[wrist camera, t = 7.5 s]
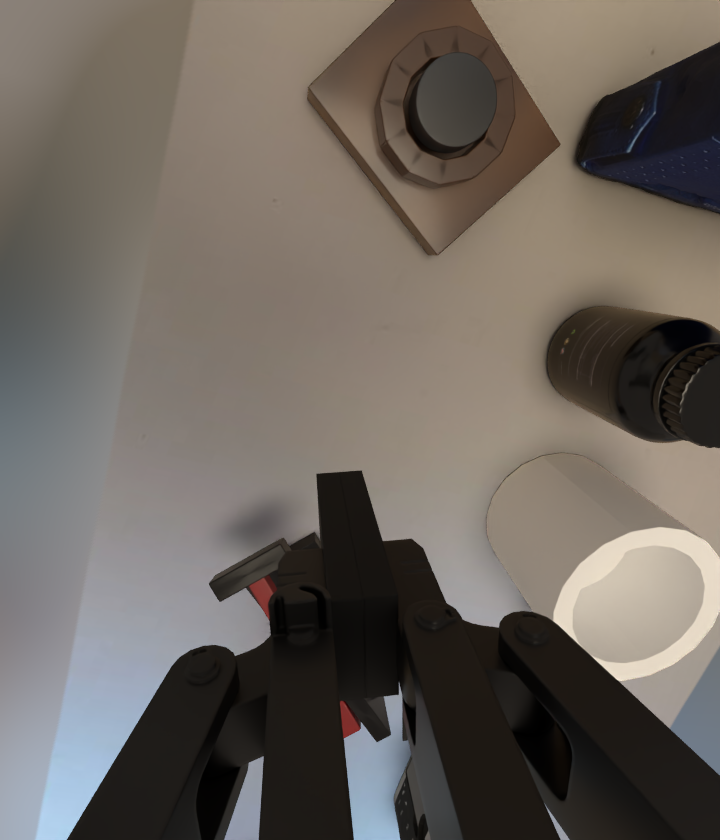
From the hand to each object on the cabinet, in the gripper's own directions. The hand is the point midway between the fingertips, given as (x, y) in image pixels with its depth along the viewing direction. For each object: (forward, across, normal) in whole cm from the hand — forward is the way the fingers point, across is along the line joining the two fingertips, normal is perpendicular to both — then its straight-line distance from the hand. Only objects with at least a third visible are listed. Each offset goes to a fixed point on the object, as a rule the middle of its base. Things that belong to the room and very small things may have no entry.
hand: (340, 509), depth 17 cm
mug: (+18, +17, -12) cm, 27 cm away
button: (+14, +7, +15) cm, 21 cm away
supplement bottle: (+18, +19, +1) cm, 26 cm away
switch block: (+18, +7, +15) cm, 24 cm away
